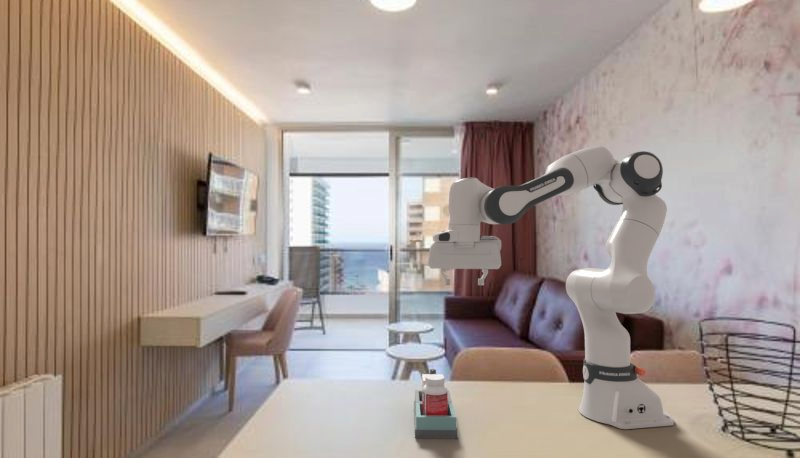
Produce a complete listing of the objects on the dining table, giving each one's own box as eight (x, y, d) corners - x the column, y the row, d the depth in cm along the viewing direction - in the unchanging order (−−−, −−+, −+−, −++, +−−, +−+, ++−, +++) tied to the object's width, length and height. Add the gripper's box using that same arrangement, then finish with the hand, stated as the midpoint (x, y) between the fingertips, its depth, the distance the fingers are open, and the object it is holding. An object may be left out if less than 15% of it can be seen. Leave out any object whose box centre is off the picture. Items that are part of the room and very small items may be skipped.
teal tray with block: (449, 408, 123) (449, 365, 123) (457, 438, 105) (457, 387, 105) (413, 408, 123) (413, 364, 123) (415, 438, 105) (415, 387, 105)
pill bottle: (452, 423, 108) (452, 378, 109) (432, 429, 105) (432, 382, 105) (437, 414, 114) (437, 371, 114) (417, 420, 110) (417, 375, 110)
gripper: (499, 235, 128) (498, 284, 127) (427, 235, 128) (427, 283, 128) (503, 235, 121) (503, 286, 121) (428, 235, 122) (428, 286, 121)
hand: (464, 285), depth 124 cm, fingers open, 8 cm apart
